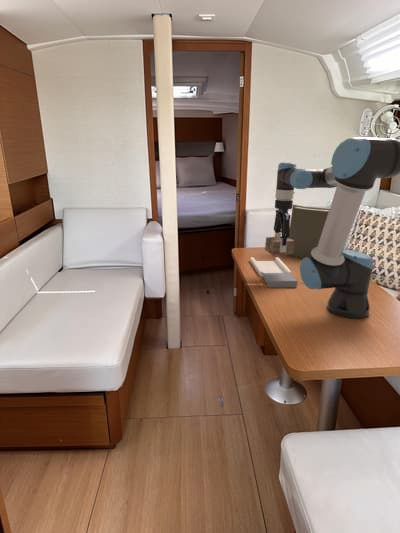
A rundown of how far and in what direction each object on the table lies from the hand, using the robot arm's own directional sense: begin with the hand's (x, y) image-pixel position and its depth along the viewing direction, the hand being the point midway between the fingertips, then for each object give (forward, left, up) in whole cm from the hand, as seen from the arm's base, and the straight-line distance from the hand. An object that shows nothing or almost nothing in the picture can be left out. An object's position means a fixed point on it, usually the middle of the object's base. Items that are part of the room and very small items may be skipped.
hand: (279, 249), depth 166 cm
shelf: (+12, 0, -15) cm, 19 cm away
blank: (0, 0, -1) cm, 1 cm away
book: (+33, -27, -15) cm, 45 cm away
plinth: (-5, 0, -15) cm, 15 cm away
